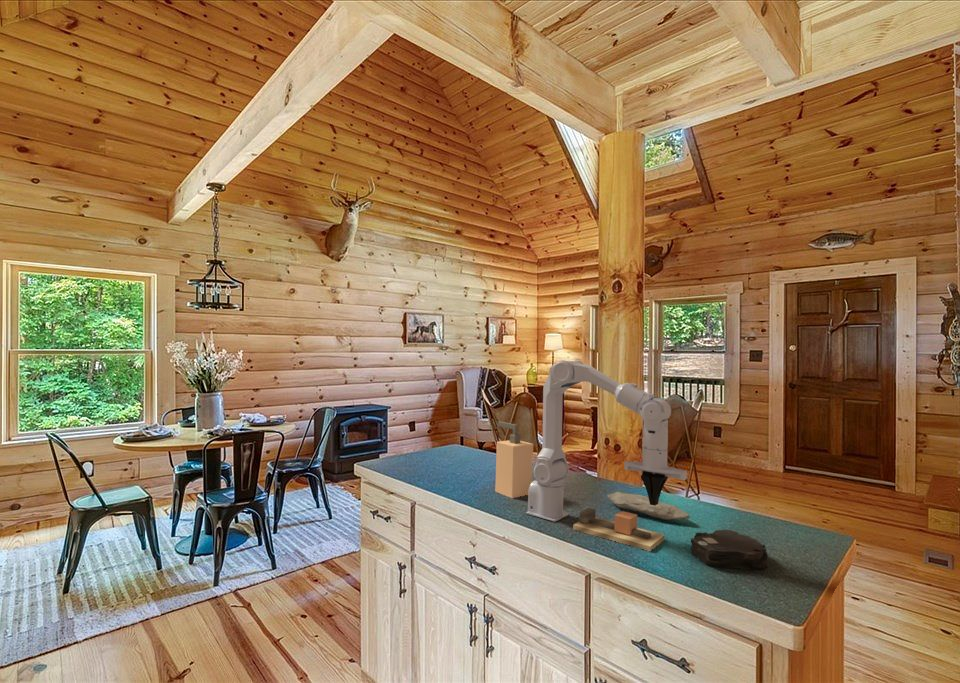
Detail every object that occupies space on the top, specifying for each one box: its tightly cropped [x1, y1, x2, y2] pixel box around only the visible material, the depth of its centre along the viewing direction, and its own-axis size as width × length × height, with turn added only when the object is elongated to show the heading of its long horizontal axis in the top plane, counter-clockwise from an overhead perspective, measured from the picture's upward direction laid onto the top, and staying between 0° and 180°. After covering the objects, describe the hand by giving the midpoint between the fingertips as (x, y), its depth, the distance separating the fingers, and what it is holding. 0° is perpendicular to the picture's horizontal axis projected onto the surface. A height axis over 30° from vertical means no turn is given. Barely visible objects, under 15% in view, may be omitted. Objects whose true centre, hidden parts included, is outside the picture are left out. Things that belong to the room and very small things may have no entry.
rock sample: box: [690, 529, 769, 570], centre depth 109 cm, size 18×16×5 cm
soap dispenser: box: [494, 420, 534, 499], centre depth 157 cm, size 13×9×22 cm
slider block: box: [614, 510, 638, 535], centre depth 120 cm, size 4×5×4 cm
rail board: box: [572, 507, 666, 552], centre depth 121 cm, size 20×10×4 cm, turn 51°
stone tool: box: [606, 491, 691, 521], centre depth 139 cm, size 12×5×25 cm
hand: (653, 504), depth 116 cm, fingers closed
